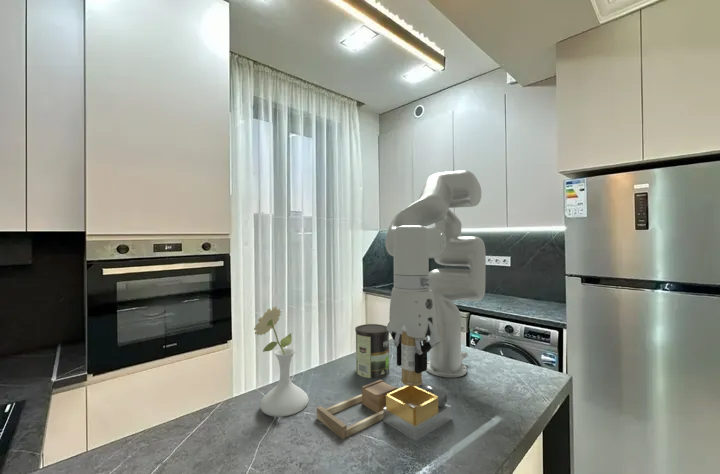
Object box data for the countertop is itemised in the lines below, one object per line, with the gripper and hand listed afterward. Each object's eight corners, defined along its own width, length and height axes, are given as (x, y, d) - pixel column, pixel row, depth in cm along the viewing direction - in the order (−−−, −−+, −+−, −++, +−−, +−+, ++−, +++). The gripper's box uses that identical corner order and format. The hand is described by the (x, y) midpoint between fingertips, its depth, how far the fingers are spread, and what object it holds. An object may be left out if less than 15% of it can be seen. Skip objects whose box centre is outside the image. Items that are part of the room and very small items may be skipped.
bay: (378, 397, 81) (378, 383, 81) (406, 412, 74) (405, 397, 74) (316, 423, 69) (316, 407, 69) (342, 445, 62) (342, 427, 62)
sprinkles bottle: (422, 379, 69) (422, 317, 69) (421, 388, 65) (421, 322, 65) (402, 377, 70) (401, 316, 70) (399, 386, 66) (399, 321, 66)
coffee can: (391, 369, 99) (390, 324, 99) (387, 383, 89) (387, 333, 89) (359, 366, 101) (359, 322, 101) (352, 380, 91) (351, 331, 91)
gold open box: (419, 407, 76) (419, 377, 76) (451, 424, 69) (451, 391, 69) (383, 426, 68) (383, 393, 68) (415, 447, 61) (415, 410, 61)
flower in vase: (292, 392, 84) (292, 299, 84) (318, 409, 75) (317, 304, 76) (244, 411, 75) (245, 306, 75) (268, 432, 66) (268, 313, 67)
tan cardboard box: (380, 396, 79) (380, 379, 79) (397, 405, 75) (397, 387, 75) (361, 404, 75) (361, 386, 75) (378, 414, 71) (378, 395, 71)
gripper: (455, 285, 64) (455, 375, 63) (395, 278, 77) (395, 353, 76) (432, 288, 59) (432, 386, 59) (372, 280, 72) (372, 360, 72)
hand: (411, 366), depth 67 cm, fingers closed on sprinkles bottle, 4 cm apart
